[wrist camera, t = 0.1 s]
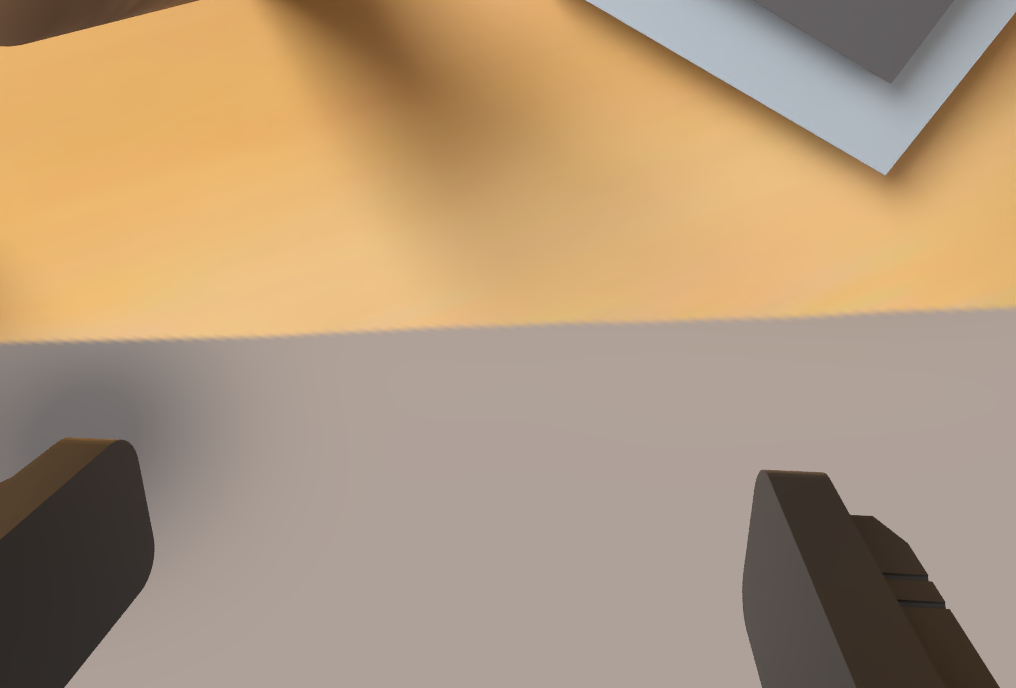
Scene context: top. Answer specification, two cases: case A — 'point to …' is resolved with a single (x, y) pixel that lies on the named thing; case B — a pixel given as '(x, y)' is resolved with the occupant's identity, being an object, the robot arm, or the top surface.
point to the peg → (67, 16)
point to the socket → (831, 58)
